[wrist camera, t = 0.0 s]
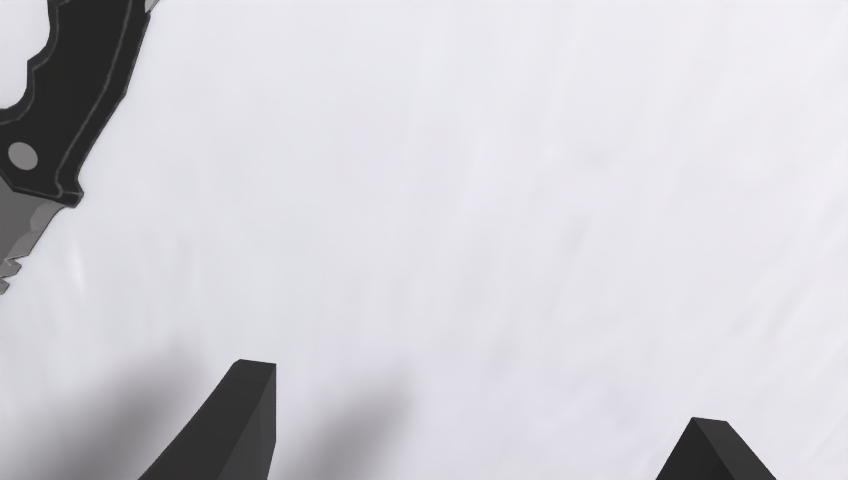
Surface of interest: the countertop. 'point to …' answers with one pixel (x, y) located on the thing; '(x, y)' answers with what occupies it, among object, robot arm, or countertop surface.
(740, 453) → the robot arm
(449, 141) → the countertop surface
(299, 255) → the countertop surface
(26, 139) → the knife
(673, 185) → the countertop surface
